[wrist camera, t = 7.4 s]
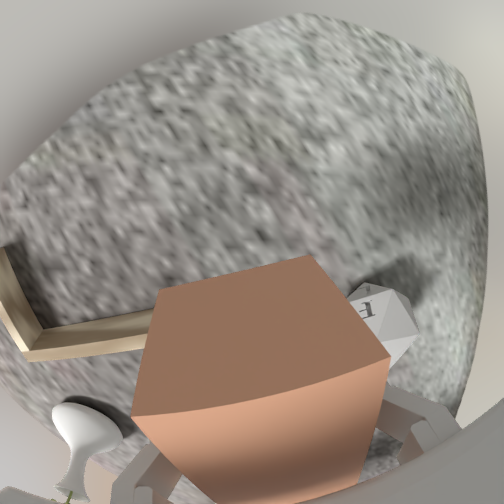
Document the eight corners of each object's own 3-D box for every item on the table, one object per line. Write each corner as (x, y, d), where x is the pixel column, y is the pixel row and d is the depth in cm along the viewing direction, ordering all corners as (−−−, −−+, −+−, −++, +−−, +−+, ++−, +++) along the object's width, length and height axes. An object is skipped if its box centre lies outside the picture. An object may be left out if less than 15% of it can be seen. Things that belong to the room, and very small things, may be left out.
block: (311, 253, 9) (396, 358, 5) (322, 412, 13) (355, 493, 8) (157, 290, 9) (127, 420, 4) (225, 435, 13) (236, 521, 8)
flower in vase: (90, 390, 30) (54, 561, 7) (138, 435, 34) (132, 581, 12) (36, 400, 30) (-5, 530, 7) (82, 441, 35) (62, 560, 12)
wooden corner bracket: (193, 313, 27) (191, 339, 24) (41, 340, 26) (28, 362, 23) (154, 193, 23) (144, 203, 19) (-4, 250, 21) (-25, 265, 18)
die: (398, 268, 30) (410, 277, 21) (415, 340, 29) (429, 374, 20) (330, 289, 33) (314, 307, 24) (348, 358, 32) (338, 397, 23)
